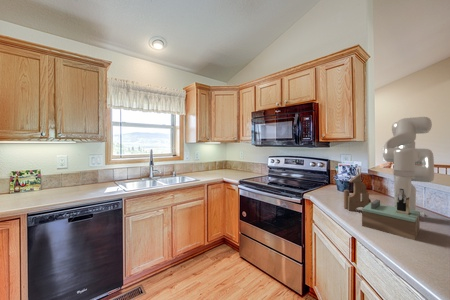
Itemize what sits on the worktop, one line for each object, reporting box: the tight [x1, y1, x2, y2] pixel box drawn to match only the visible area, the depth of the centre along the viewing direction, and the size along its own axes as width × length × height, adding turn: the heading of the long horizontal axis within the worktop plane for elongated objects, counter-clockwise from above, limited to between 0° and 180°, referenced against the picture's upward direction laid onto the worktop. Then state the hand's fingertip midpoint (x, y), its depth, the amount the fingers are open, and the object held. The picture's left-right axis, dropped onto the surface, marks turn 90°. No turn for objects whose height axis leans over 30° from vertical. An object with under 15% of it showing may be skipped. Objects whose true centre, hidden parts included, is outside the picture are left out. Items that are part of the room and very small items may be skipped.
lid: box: [361, 199, 421, 222], centre depth 99 cm, size 16×20×4 cm
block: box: [397, 199, 410, 215], centre depth 95 cm, size 4×4×16 cm
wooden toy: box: [343, 173, 373, 212], centre depth 128 cm, size 16×7×25 cm, turn 72°
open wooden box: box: [361, 210, 421, 241], centre depth 99 cm, size 16×20×9 cm
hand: (403, 208), depth 95 cm, fingers open, 9 cm apart
